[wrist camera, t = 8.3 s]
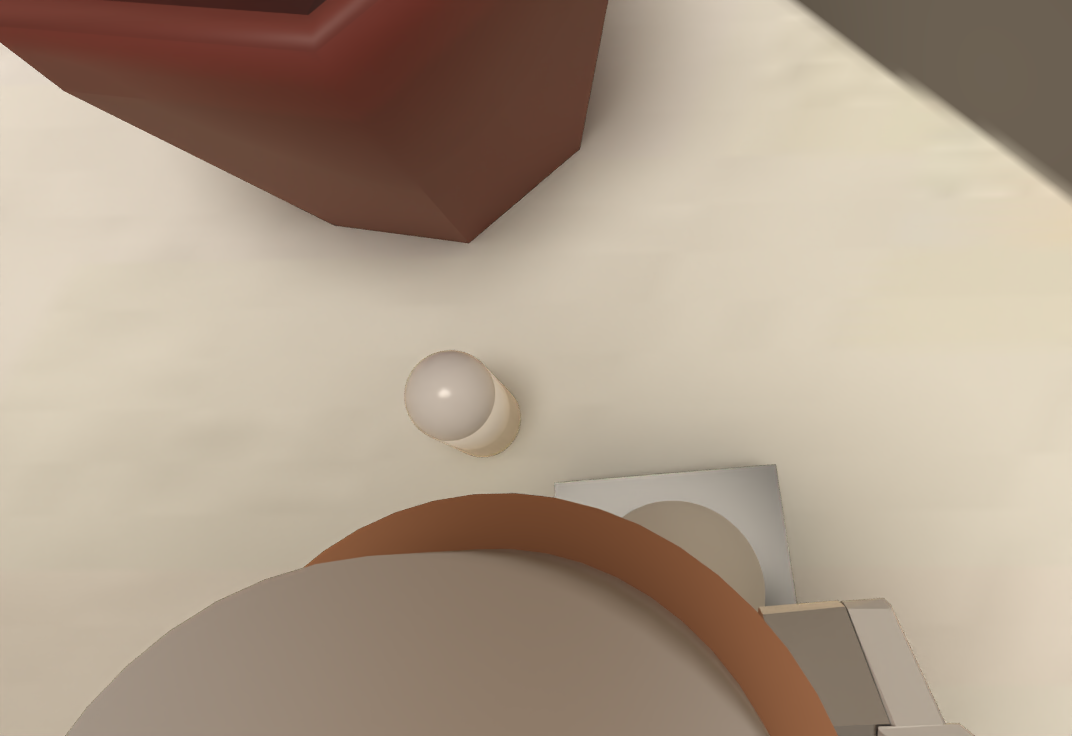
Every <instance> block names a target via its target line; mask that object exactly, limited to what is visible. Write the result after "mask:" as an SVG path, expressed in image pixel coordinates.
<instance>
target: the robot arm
mask: <svg viewBox="0 0 1072 736" xmlns="http://www.w3.org/2000/svg"><path fill="white" fill-rule="evenodd" d="M758 614H759V615H760V616H761V617H762V619H763V620H764V621H765V622H766V623H767V625H768V626H769V627H770V628H771V629H772V630H773V632H774V633H775V634H776V635H777V636H778V638H779V639H780V640H781V641H782V642H783V644H784V645H785V646H786V647H787V648H788V650H789V651H790V653H791V654H792V656H793V657H794V659H795V661H796V662H797V664H798V665H799V667H800V668H801V670H802V671H803V673H804V674H805V676H806V677H807V679H808V680H809V682H810V684H811V685H812V687H813V688H814V690H815V691H816V693H817V694H818V696H819V698H820V700H821V702H822V704H823V706H824V708H825V710H826V713H827V715H828V717H829V719H830V721H831V723H832V725H833V727H834V729H835V731H836V733H837V735H838V736H975V735H973V734H972V733H971V732H970V731H968V730H967V729H966V728H965V727H963V726H962V725H961V724H960V723H945V721H944V719H943V717H942V715H941V713H940V710H939V708H938V706H937V704H936V702H935V700H934V697H933V695H932V693H931V691H930V689H929V687H928V684H927V682H926V680H925V678H924V676H923V674H922V671H921V669H920V667H919V665H918V663H917V660H916V658H915V656H914V654H913V652H912V650H911V647H910V645H909V643H908V641H907V639H906V637H905V634H904V632H903V630H902V628H901V626H900V624H899V621H898V619H897V617H896V615H895V613H894V611H893V608H892V606H891V605H890V604H889V603H888V602H887V601H886V600H885V599H884V598H876V599H862V600H849V601H841V602H839V601H838V600H835V601H823V602H811V603H799V604H787V605H775V606H763V607H759V608H758Z"/></svg>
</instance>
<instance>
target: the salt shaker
mask: <svg viewBox="0 0 1072 736" xmlns="http://www.w3.org/2000/svg"><path fill="white" fill-rule="evenodd" d="M404 400H405V406H406V410H407V413H408V415H409V417H410V419H411V421H412V422H413V423H414V425H415V426H416V427H417V428H418V429H419V430H420V431H422V432H423V433H424V434H426V435H428V436H429V437H431V438H434V439H436V440H438V441H440V442H442V443H445V444H447V445H449V446H451V447H453V448H456V449H458V450H460V451H462V452H464V453H467V454H469V455H472V456H476V457H489V456H493V455H496V454H498V453H500V452H502V451H504V450H505V449H506V448H508V447H509V446H510V445H511V444H512V442H513V441H514V440H515V438H516V436H517V434H518V431H519V428H520V423H521V414H520V409H519V405H518V403H517V401H516V399H515V398H514V396H513V395H512V394H511V393H510V392H509V391H508V390H507V389H506V388H505V386H504V385H503V384H502V383H501V382H500V381H499V380H498V379H497V378H496V377H495V376H494V375H493V374H492V373H491V372H490V371H489V370H488V368H487V367H486V366H485V365H484V364H483V363H482V362H481V361H479V360H478V359H477V358H475V357H474V356H472V355H470V354H467V353H465V352H461V351H455V350H445V351H440V352H436V353H433V354H431V355H429V356H427V357H426V358H424V359H423V360H421V361H420V362H419V363H418V364H417V365H416V366H415V367H414V369H413V370H412V371H411V373H410V375H409V377H408V379H407V382H406V385H405V392H404Z"/></svg>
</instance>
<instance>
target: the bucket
mask: <svg viewBox="0 0 1072 736" xmlns="http://www.w3.org/2000/svg"><path fill="white" fill-rule="evenodd" d="M607 4H608V0H0V43H2V44H3V45H4V46H6V47H7V48H8V49H10V50H11V51H12V52H14V53H15V54H16V55H18V56H19V57H20V58H21V59H23V60H24V61H25V62H27V63H28V64H29V65H31V66H32V67H33V68H35V69H36V70H37V71H38V72H40V73H41V74H42V75H44V76H45V77H46V78H48V79H49V80H50V81H52V82H53V83H54V84H55V85H57V86H58V87H59V88H61V89H62V90H63V91H65V92H67V93H69V94H71V95H73V96H75V97H77V98H79V99H81V100H83V101H85V102H87V103H89V104H91V105H93V106H95V107H97V108H99V109H101V110H103V111H105V112H107V113H109V114H111V115H113V116H115V117H117V118H119V119H121V120H123V121H125V122H127V123H129V124H131V125H133V126H135V127H137V128H139V129H141V130H143V131H145V132H147V133H149V134H152V135H154V136H156V137H158V138H160V139H162V140H164V141H166V142H168V143H170V144H172V145H174V146H176V147H178V148H180V149H182V150H184V151H186V152H188V153H190V154H192V155H194V156H196V157H198V158H200V159H202V160H204V161H206V162H208V163H210V164H212V165H214V166H216V167H218V168H220V169H222V170H224V171H226V172H228V173H230V174H232V175H234V176H236V177H238V178H240V179H242V180H244V181H246V182H248V183H250V184H252V185H254V186H256V187H258V188H260V189H262V190H264V191H266V192H268V193H270V194H272V195H274V196H276V197H278V198H280V199H282V200H284V201H286V202H288V203H290V204H292V205H294V206H296V207H298V208H300V209H302V210H304V211H306V212H308V213H310V214H312V215H314V216H316V217H318V218H320V219H323V220H325V221H327V222H329V223H331V224H333V225H335V226H342V227H350V228H358V229H365V230H373V231H380V232H388V233H396V234H403V235H411V236H418V237H426V238H434V239H441V240H449V241H456V242H464V243H470V242H471V241H472V240H473V239H474V238H476V237H477V236H478V235H479V234H480V233H482V232H483V231H484V230H485V229H486V228H487V227H489V226H490V225H491V224H492V223H493V222H494V221H496V220H497V219H498V218H499V217H500V216H502V215H503V214H504V213H505V212H506V211H507V210H509V209H510V208H511V207H512V206H513V205H514V204H516V203H517V202H518V201H519V200H520V199H522V198H523V197H524V196H525V195H526V194H527V193H529V192H530V191H531V190H532V189H533V188H534V187H536V186H537V185H538V184H539V183H540V182H542V181H543V180H544V179H545V178H546V177H547V176H549V175H550V174H551V173H552V172H553V171H554V170H556V169H557V168H558V167H559V166H560V165H562V164H563V163H564V162H565V161H566V160H567V159H569V158H570V157H571V156H572V155H573V154H574V153H576V152H577V151H578V150H579V149H580V145H581V139H582V134H583V129H584V124H585V119H586V113H587V108H588V103H589V98H590V93H591V87H592V82H593V77H594V72H595V67H596V61H597V56H598V51H599V46H600V40H601V35H602V30H603V25H604V20H605V14H606V9H607Z"/></svg>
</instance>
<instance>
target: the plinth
mask: <svg viewBox="0 0 1072 736" xmlns="http://www.w3.org/2000/svg"><path fill="white" fill-rule="evenodd" d="M554 488H555V498H559V499H563V500H567V501H571V502H575V503H579V504H583V505H587V506H591V507H595V508H599V509H601V510H604V511H606V512H609V513H611V514H614V515H616V516H619V517H621V518H624V519H626V520H629V521H631V522H634V523H637V524H639V525H641V526H643V527H645V528H647V529H648V530H650V531H652V532H654V533H656V534H657V535H659V536H661V537H663V538H665V539H666V540H668V541H670V542H672V543H674V544H675V545H677V546H679V547H681V548H682V549H683V550H685V551H686V552H687V553H689V554H690V555H692V556H693V557H694V558H696V559H697V560H698V561H700V562H701V563H702V564H704V565H705V566H707V567H708V568H709V569H711V570H712V571H713V572H715V573H716V574H718V575H719V576H720V577H721V578H722V579H723V580H724V581H725V582H726V583H727V584H728V585H729V586H731V587H732V588H733V589H734V590H735V591H736V592H737V593H738V594H739V595H740V596H741V597H742V598H743V599H744V600H745V601H746V602H748V603H749V604H750V605H751V606H752V607H753V608H754V609H755V610H756V611H757V613H758V608H759V607H763V606H775V605H787V604H797V601H796V594H795V587H794V581H793V574H792V568H791V561H790V555H789V548H788V541H787V535H786V528H785V522H784V515H783V508H782V502H781V495H780V489H779V482H778V475H777V469H776V464H772V465H760V466H749V467H737V468H725V469H713V470H701V471H689V472H677V473H665V474H653V475H641V476H629V477H617V478H605V479H593V480H581V481H569V482H557V483H554Z"/></svg>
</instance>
